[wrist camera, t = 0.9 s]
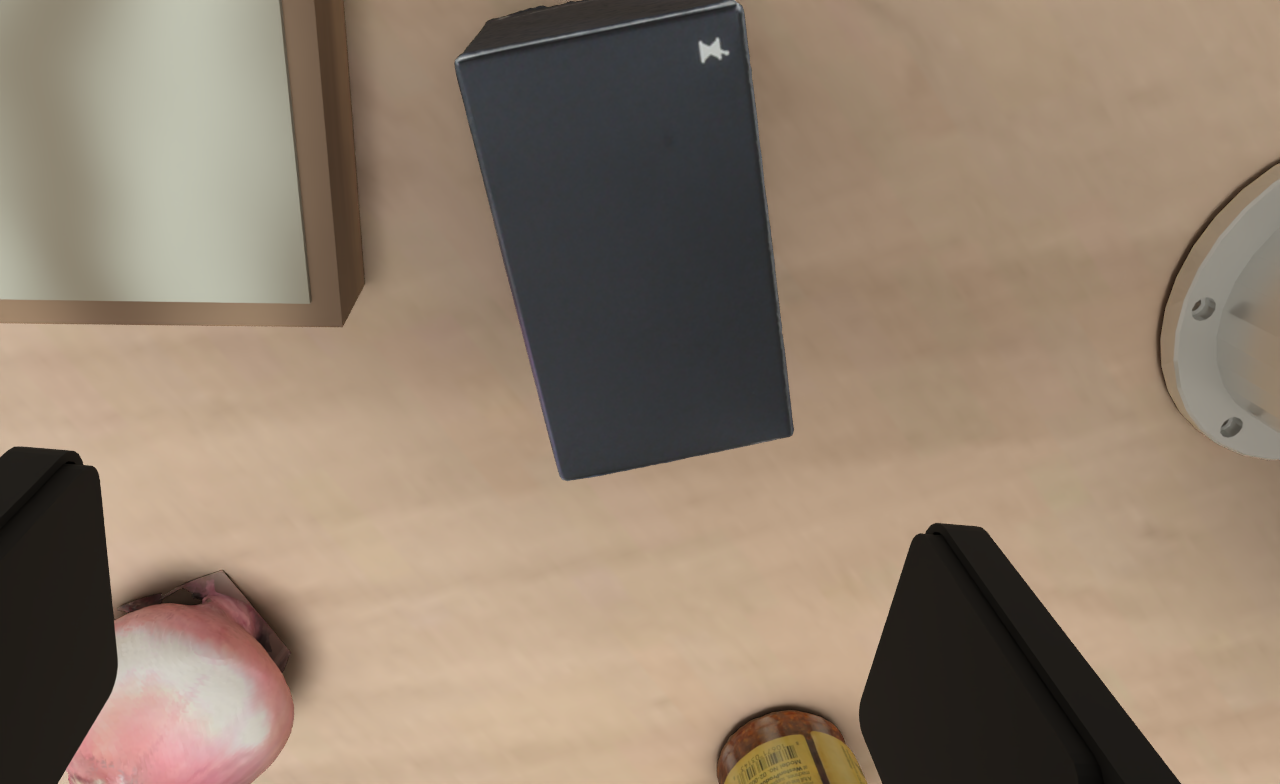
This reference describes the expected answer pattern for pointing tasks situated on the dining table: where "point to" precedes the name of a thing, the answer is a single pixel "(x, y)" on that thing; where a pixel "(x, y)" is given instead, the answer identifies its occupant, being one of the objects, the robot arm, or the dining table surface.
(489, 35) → the small box
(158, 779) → the onion
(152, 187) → the base
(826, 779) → the sauce bottle
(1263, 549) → the dining table surface
